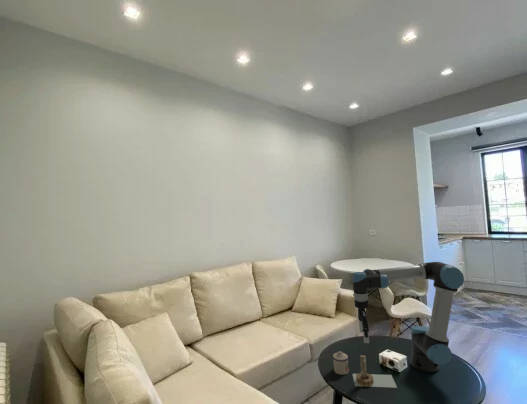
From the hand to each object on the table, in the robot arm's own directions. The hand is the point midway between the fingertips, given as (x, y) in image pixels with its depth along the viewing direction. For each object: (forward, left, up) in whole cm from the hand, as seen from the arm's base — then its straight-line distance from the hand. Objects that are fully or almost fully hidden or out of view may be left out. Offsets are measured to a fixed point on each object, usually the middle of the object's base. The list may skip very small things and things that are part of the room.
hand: (364, 337), depth 164 cm
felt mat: (-3, -1, -25) cm, 25 cm away
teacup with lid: (+14, -11, -25) cm, 31 cm away
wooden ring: (+2, +1, -24) cm, 24 cm away
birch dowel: (+2, +1, -24) cm, 25 cm away
